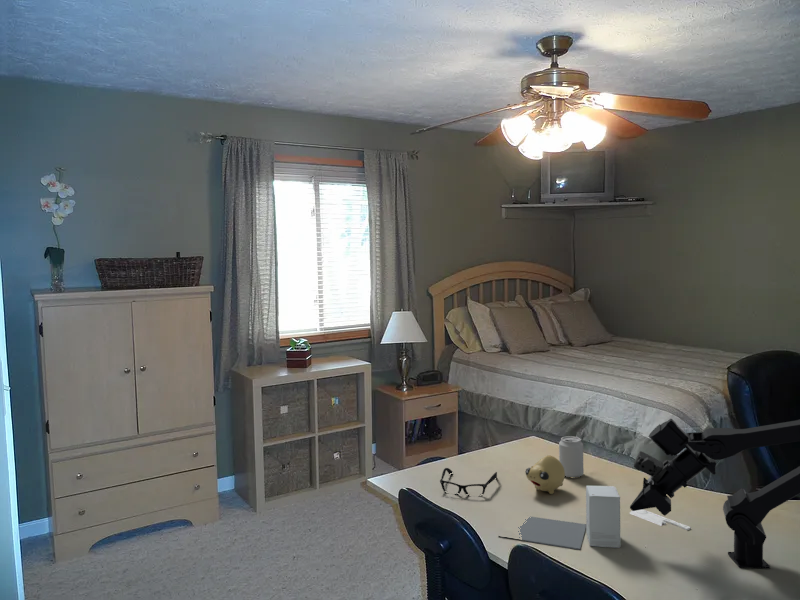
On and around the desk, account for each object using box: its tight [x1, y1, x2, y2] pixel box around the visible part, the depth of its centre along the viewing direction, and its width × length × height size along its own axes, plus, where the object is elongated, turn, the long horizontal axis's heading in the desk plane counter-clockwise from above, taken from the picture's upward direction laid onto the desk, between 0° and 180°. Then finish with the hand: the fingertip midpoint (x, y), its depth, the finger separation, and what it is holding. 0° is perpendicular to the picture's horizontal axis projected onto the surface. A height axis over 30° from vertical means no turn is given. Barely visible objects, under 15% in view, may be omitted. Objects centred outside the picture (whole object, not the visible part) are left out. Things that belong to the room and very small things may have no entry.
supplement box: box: [585, 485, 621, 549], centre depth 148 cm, size 7×7×13 cm
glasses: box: [439, 467, 498, 495], centre depth 187 cm, size 17×18×5 cm
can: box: [558, 435, 585, 478], centre depth 192 cm, size 8×8×12 cm
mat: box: [518, 516, 586, 551], centre depth 154 cm, size 20×14×1 cm
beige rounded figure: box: [525, 454, 566, 495], centre depth 180 cm, size 10×12×11 cm
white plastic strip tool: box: [628, 509, 692, 531], centre depth 158 cm, size 5×15×1 cm, turn 33°
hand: (631, 508), depth 145 cm, fingers closed
